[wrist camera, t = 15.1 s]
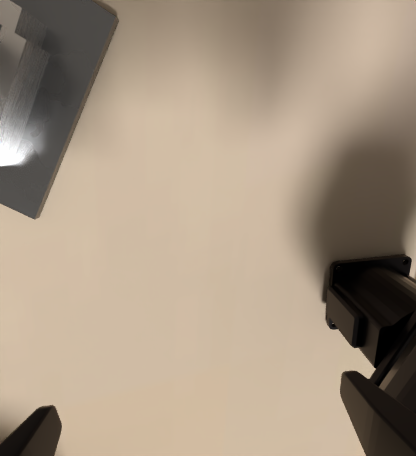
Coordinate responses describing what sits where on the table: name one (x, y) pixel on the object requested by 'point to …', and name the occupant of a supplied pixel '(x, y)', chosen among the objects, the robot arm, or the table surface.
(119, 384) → the table surface
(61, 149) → the square socket
